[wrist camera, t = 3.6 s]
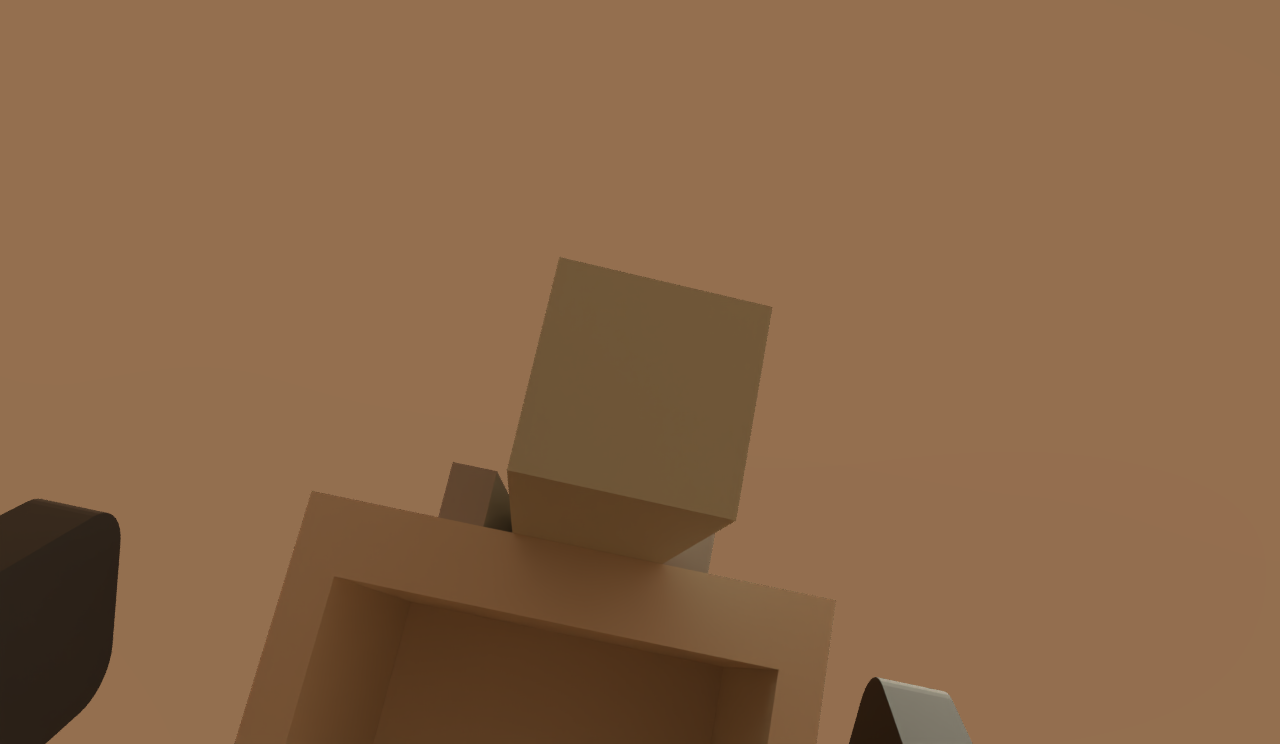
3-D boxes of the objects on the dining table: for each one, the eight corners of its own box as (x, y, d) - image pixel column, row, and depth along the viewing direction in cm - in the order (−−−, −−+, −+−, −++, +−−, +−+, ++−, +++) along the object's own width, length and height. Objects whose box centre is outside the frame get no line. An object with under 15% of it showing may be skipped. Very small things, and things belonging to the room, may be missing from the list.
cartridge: (735, 520, 16) (804, 120, 19) (506, 470, 16) (604, 71, 18) (620, 588, 35) (661, 386, 38) (515, 566, 35) (563, 363, 38)
